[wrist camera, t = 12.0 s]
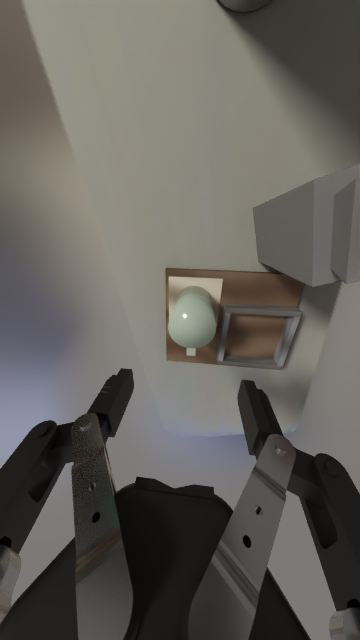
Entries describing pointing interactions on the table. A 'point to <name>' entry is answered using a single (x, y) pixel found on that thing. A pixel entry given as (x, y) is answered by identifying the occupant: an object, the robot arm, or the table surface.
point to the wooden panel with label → (240, 316)
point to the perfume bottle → (313, 230)
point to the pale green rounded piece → (192, 319)
